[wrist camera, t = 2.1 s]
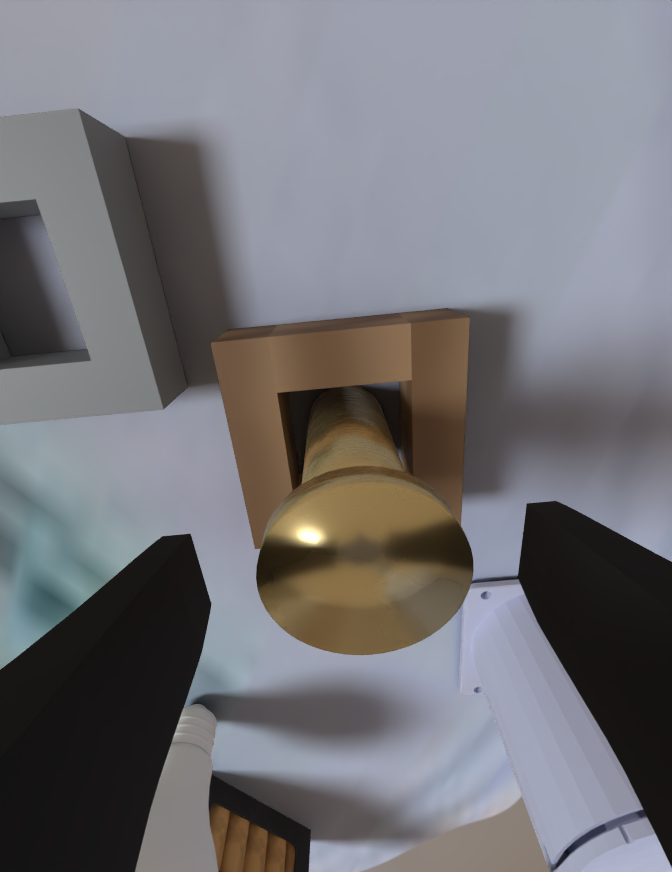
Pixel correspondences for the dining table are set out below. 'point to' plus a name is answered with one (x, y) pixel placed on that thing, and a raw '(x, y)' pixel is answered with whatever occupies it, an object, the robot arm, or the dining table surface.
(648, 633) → the robot arm
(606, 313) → the dining table surface
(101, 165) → the socket block
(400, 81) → the dining table surface
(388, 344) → the brown wooden square frame
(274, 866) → the ammunition clip
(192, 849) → the lightbulb
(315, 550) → the pin
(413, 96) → the dining table surface
